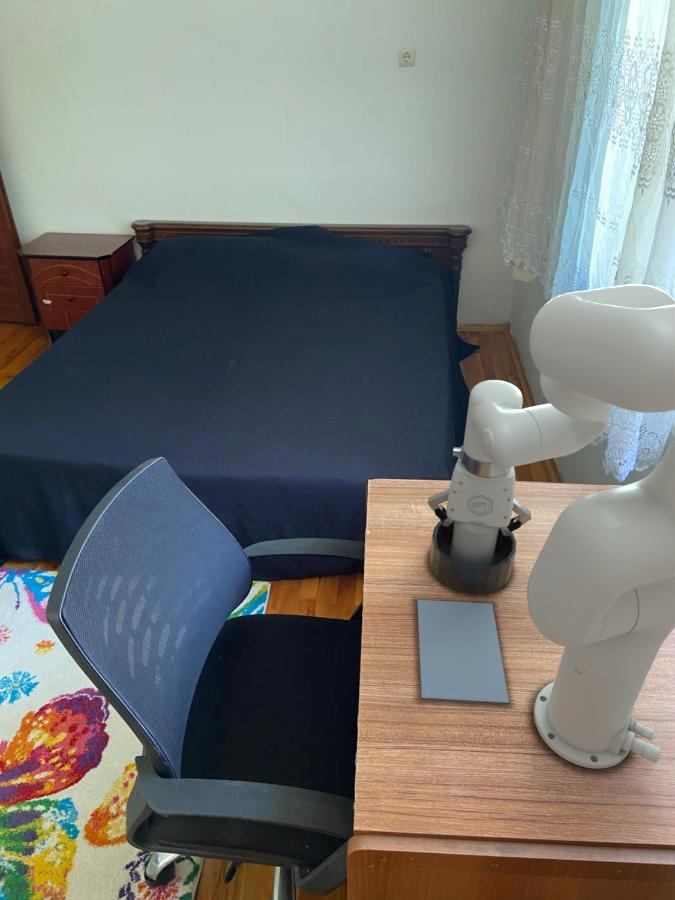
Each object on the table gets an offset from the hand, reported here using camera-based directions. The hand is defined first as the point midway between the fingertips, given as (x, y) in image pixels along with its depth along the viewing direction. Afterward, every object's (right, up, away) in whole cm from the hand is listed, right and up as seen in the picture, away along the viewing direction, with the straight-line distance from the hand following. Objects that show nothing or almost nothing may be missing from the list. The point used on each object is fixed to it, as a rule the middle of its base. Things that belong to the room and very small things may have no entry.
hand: (473, 543), depth 108 cm
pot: (0, -4, +3) cm, 5 cm away
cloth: (-5, -14, -12) cm, 19 cm away
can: (0, -4, +3) cm, 5 cm away
